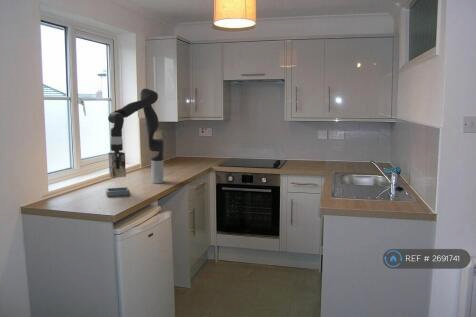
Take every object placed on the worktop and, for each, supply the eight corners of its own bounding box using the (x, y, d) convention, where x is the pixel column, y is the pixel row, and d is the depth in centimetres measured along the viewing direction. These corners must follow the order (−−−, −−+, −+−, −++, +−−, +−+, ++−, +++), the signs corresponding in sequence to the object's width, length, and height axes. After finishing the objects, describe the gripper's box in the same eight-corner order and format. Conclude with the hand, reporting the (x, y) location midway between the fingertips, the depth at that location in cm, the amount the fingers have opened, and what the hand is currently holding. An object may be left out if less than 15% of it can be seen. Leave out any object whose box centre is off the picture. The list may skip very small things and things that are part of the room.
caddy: (106, 193, 281) (105, 188, 281) (127, 192, 286) (127, 187, 286) (107, 197, 271) (107, 191, 271) (129, 195, 276) (129, 190, 276)
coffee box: (122, 175, 282) (121, 151, 280) (126, 176, 277) (125, 152, 275) (109, 176, 277) (108, 152, 275) (112, 178, 272) (111, 153, 270)
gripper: (109, 142, 279) (110, 166, 281) (111, 144, 266) (112, 170, 268) (121, 142, 282) (121, 166, 284) (123, 144, 269) (124, 169, 271)
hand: (117, 168), depth 276 cm, fingers closed on coffee box, 7 cm apart
